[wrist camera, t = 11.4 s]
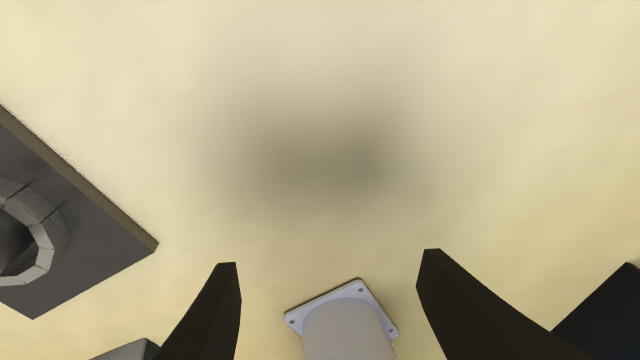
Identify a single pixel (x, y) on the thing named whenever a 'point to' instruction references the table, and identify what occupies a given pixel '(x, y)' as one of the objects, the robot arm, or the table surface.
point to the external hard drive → (131, 351)
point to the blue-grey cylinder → (12, 239)
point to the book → (607, 319)
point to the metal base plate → (59, 226)
